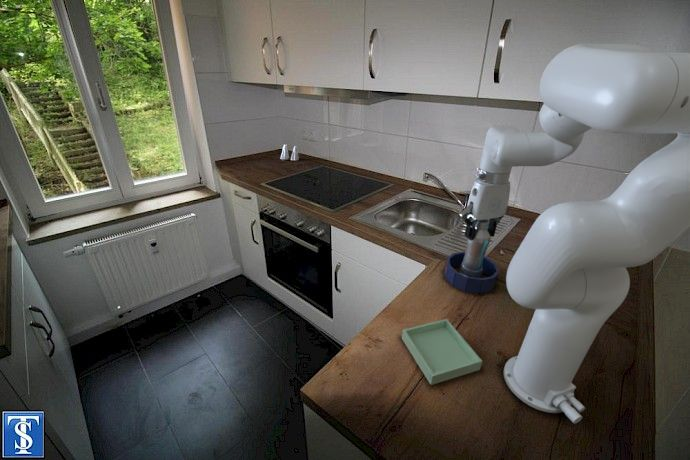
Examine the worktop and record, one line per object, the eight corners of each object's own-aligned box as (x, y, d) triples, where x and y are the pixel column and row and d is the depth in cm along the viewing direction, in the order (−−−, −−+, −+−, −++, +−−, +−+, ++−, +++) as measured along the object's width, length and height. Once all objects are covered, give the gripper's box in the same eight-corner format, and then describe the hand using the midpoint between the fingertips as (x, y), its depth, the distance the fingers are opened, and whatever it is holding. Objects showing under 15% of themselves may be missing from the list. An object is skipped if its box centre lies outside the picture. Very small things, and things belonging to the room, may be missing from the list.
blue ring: (505, 287, 93) (509, 274, 91) (463, 297, 89) (467, 283, 87) (473, 261, 105) (476, 249, 103) (435, 269, 101) (437, 256, 99)
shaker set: (280, 161, 211) (279, 145, 206) (281, 159, 215) (279, 143, 210) (298, 161, 212) (297, 144, 207) (298, 159, 216) (297, 143, 211)
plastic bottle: (466, 286, 94) (480, 227, 84) (453, 273, 99) (465, 216, 90) (485, 283, 95) (500, 224, 86) (471, 270, 101) (484, 214, 91)
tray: (479, 369, 68) (482, 361, 67) (430, 385, 65) (432, 376, 63) (445, 326, 79) (446, 318, 78) (401, 338, 76) (402, 329, 74)
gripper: (474, 184, 76) (461, 247, 85) (530, 177, 81) (513, 238, 89) (456, 175, 83) (445, 234, 91) (509, 169, 87) (494, 226, 96)
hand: (479, 235), depth 90 cm, fingers closed on plastic bottle, 6 cm apart
